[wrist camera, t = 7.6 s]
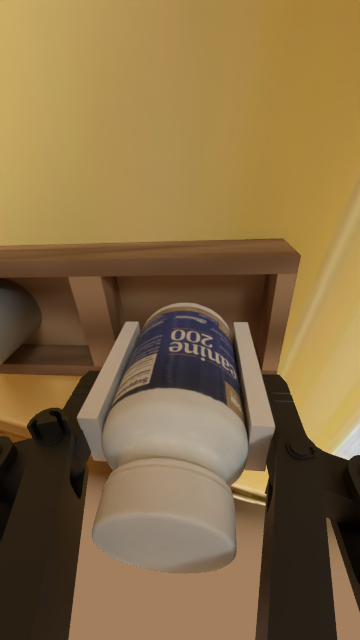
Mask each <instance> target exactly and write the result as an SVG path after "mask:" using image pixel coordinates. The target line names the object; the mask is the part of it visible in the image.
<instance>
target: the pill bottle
mask: <svg viewBox="0 0 360 640" xmlns="http://www.w3.org/2000/svg"><path fill="white" fill-rule="evenodd" d="M102 449H103V453H104V456H105V459H106V461H107V463H108V465H109V466H110V467H111V469H112V470H113V472H112V473H111V474H110V476H109V477H108V480H107V482H106V483H105V485H104V487H103V490H102V495H101V500H100V503H99V507H98V510H97V515H96V518H95V521H94V525H93V530H92V538H93V541H94V543H95V544H96V546H97V547H98V548H99V549H101V550H102V551H103V552H105V553H106V554H108V555H109V556H111V557H113V558H114V559H117V560H119V561H121V562H123V563H127V564H129V565H132V566H136V567H140V568H144V569H149V570H154V571H160V572H168V573H202V572H209V571H214V570H218V569H220V568H223V567H224V566H226V565H228V564H229V563H231V562H232V561H233V560H234V558H235V556H236V527H235V507H234V501H233V495H232V492H231V489H230V487H229V486H231V485H232V484H233V483H234V482H235V481H236V480H237V479H238V478H239V477H240V475H241V474H242V472H243V471H244V468H245V466H246V463H247V459H248V437H247V429H246V423H245V416H244V410H243V404H242V396H241V390H240V383H239V378H238V371H237V365H236V358H235V352H234V346H233V341H232V336H231V332H230V329H229V327H228V325H227V324H226V323H225V321H224V320H223V319H222V318H221V317H220V316H219V315H218V314H217V313H215V312H214V311H213V310H211V309H209V308H207V307H204V306H201V305H199V304H195V303H176V304H171V305H168V306H165V307H163V308H161V309H159V310H158V311H156V312H155V313H154V314H153V315H152V316H151V317H150V318H149V319H148V320H147V322H146V323H145V325H144V327H143V330H142V332H141V334H140V336H139V339H138V341H137V343H136V346H135V348H134V351H133V354H132V356H131V359H130V361H129V364H128V366H127V369H126V371H125V374H124V376H123V379H122V381H121V383H120V386H119V389H118V391H117V394H116V396H115V399H114V401H113V404H112V406H111V409H110V412H109V414H108V416H107V419H106V423H105V426H104V429H103V433H102Z"/></svg>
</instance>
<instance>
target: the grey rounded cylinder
mask: <svg viewBox="0 0 360 640" xmlns="http://www.w3.org/2000/svg"><path fill="white" fill-rule="evenodd" d="M41 322H42V313H41V309H40V307H39V305H38V303H37V301H36V300H35V298H34V297H33V296H32V295H31V294H30V293H29V292H28V291H27V290H26V289H24V288H23V287H22V286H20V285H19V284H17V283H15V282H12V281H10V280H7V279H2V278H0V365H1V364H2V363H3V362H4V361H5V360H7V359H8V358H9V357H10V356H11V355H12V354H13V353H14V352H15V351H16V350H17V349H18V348H19V347H20V346H21V345H22V344H23V343H24V342H25V341H26V340H27V339H28V338H29V337H30V336H31V335H32V334H33V333H34V332H35V331H36V330H37V329H38V328H39V327H40V325H41Z"/></svg>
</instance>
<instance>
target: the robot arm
mask: <svg viewBox="0 0 360 640" xmlns="http://www.w3.org/2000/svg"><path fill="white" fill-rule="evenodd" d="M139 336H140V327H139V322H125V324H124V326H123V328H122V330H121V332H120V334H119V336H118V338H117V340H116V342H115V344H114V346H113V348H112V350H111V352H110V354H109V356H108V358H107V359H106V361H105V363H104V365H103V367H102V369H101V371H89V372H87V373H86V374H85V375H84V376H83V377H82V378H81V379H80V381H79V383H78V384H77V386H76V388H75V389H74V391H73V393H72V395H71V396H70V398H69V400H68V401H67V403H66V405H65V407H64V408H63V410H62V409H59V408H49V409H46V410H43V411H41V412H40V413H38V414H36V415H35V416H34V417H33V418H32V419H31V420H30V421H29V423H28V425H27V428H28V430H29V432H30V433H31V435H32V437H33V438H31V439H27V440H23V441H19V442H15V443H12V441H11V440H10V439H9V437H5V436H0V640H68V638H69V628H70V621H71V613H72V604H73V595H74V587H75V579H76V571H77V562H78V554H79V546H80V537H81V530H82V521H83V513H84V505H85V496H86V488H87V480H88V465H87V461H88V459H89V456H90V454H91V455H92V457H93V460H94V461H106V459H105V456H104V453H103V449H102V433H103V429H104V426H105V423H106V419H107V416H108V414H109V412H110V409H111V406H112V404H113V401H114V399H115V396H116V394H117V391H118V389H119V386H120V383H121V381H122V379H123V376H124V374H125V371H126V369H127V366H128V364H129V361H130V359H131V356H132V354H133V351H134V348H135V346H136V343H137V341H138V339H139ZM232 341H233V346H234V352H235V358H236V365H237V371H238V378H239V383H240V390H241V396H242V404H243V410H244V416H245V423H246V429H247V437H248V459H247V463H246V466H245V470H254V471H265V469H266V464H267V469H268V474H269V479H268V483H267V487H266V491H265V494H267V496H266V509H265V522H264V535H263V548H262V561H261V573H260V587H259V599H258V613H257V625H256V638H255V640H337V632H336V622H335V611H334V600H333V590H332V579H331V568H330V557H329V548H328V547H329V546H328V536H327V526H326V517H327V518H330V521H331V524H332V527H333V530H334V533H335V536H336V539H337V543H338V546H339V549H340V552H341V555H342V558H343V561H344V565H345V567H346V570H347V574H348V577H349V580H350V583H351V586H352V589H353V592H354V596H355V599H356V602H357V605H358V608H359V611H360V455H356V456H354V457H352V458H351V459H350V460H346V459H343V458H340V457H337V456H334V455H331V454H329V453H327V452H324V451H322V450H321V449H319V448H318V447H316V446H315V444H314V443H313V442H312V441H311V440H310V439H309V438H308V437H307V435H306V433H305V431H304V428H303V426H302V423H301V420H300V417H299V415H298V412H297V409H296V407H295V404H294V403H293V399H292V396H291V395H290V390H289V388H288V385H287V383H286V382H285V381H284V380H283V378H282V377H281V376H280V375H273V374H261V371H260V367H259V363H258V360H257V356H256V352H255V348H254V345H253V341H252V337H251V333H250V329H249V326H248V322H234V325H233V338H232Z"/></svg>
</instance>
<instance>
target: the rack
mask: <svg viewBox="0 0 360 640" xmlns="http://www.w3.org/2000/svg"><path fill="white" fill-rule="evenodd" d="M300 257H301V255H300V254H299V253H298V252H297V251H296V250H295V249H294V248H292V247H291V246H290V245H289V244H288V243H287V242H286V241H285V240H284V239H251V240H214V241H176V242H139V243H102V244H64V245H27V246H0V278H2V279H7V280H10V281H12V282H15V283H17V284H19V285H20V286H22V287H23V288H24V289H26V290H27V291H28V292H29V293H30V294H31V295H32V296H33V297H34V298H35V300H36V301H37V303H38V305H39V307H40V309H41V313H42V322H41V325H40V327H39V328H38V329H37V330H36V331H35V332H34V333H33V334H32V335H31V336H30V337H29V338H28V339H27V340H26V341H25V342H24V343H23V344H22V345H21V346H20V347H19V348H18V349H17V350H16V351H15V352H14V353H13V354H12V355H11V356H10V357H9V358H8V359H7V360H5V361H4V362H3V363H2V364H1V365H0V373H1V374H35V375H70V376H84V375H85V374H86V373H87V372H89V371H101V369H102V367H103V365H104V363H105V361H106V359H107V358H108V356H109V354H110V352H111V350H112V348H113V346H114V344H115V342H116V340H117V338H118V336H119V334H120V332H121V330H122V328H123V326H124V324H125V322H139V327H140V334H141V332H142V330H143V327H144V325H145V323H146V322H147V320H148V319H149V318H150V317H151V316H152V315H153V314H154V313H155V312H156V311H158V310H159V309H161V308H163V307H165V306H168V305H171V304H176V303H195V304H199V305H201V306H204V307H207V308H209V309H211V310H213V311H214V312H215V313H217V314H218V315H219V316H220V317H221V318H222V319H223V320H224V321H225V323H226V324H227V325H228V327H229V329H230V332H231V336H232V338H233V325H234V322H248V326H249V329H250V333H251V337H252V341H253V345H254V348H255V352H256V356H257V360H258V363H259V367H260V371H261V374H273V375H276V374H277V369H278V364H279V359H280V355H281V350H282V345H283V340H284V335H285V330H286V325H287V321H288V316H289V311H290V306H291V301H292V296H293V291H294V286H295V282H296V277H297V272H298V267H299V262H300Z"/></svg>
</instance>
